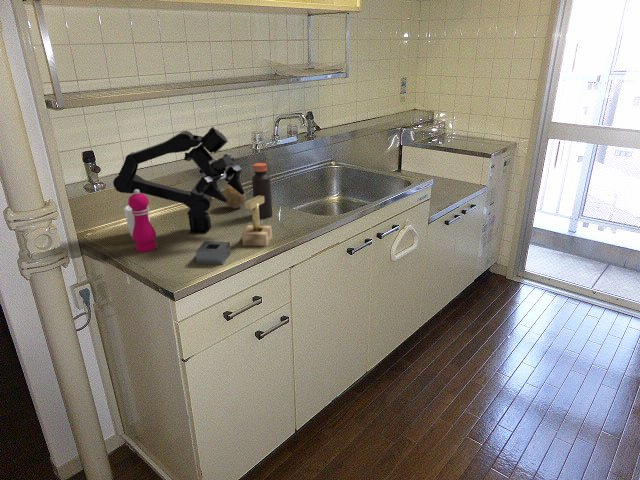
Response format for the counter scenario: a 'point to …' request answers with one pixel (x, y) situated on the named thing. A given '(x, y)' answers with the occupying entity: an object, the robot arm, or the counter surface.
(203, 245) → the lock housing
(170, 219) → the counter surface
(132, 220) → the white cup
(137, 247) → the pepper mill
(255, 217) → the T-key
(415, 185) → the counter surface
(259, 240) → the tan square ring block
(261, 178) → the bottle
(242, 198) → the natural sponge
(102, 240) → the counter surface
